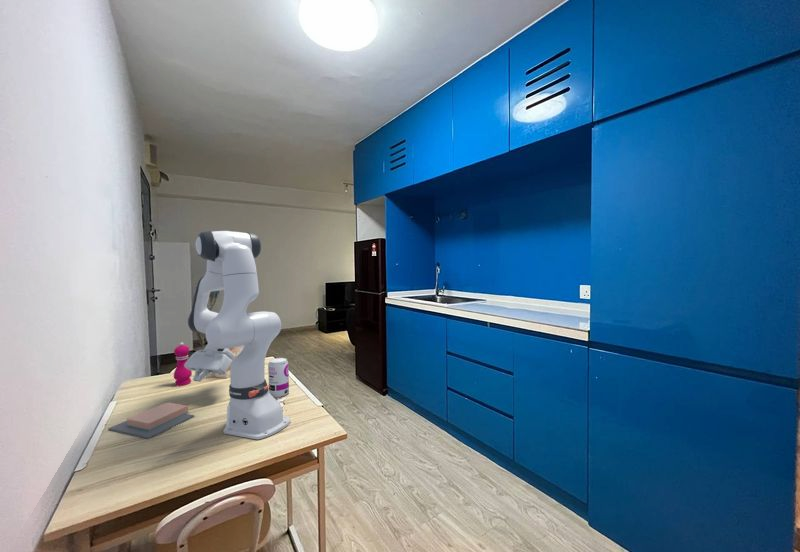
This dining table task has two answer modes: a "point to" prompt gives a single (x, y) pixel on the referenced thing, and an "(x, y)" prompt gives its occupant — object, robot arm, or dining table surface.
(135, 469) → the dining table surface
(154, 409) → the tile
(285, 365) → the supplement can
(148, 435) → the mat
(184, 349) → the pepper mill
